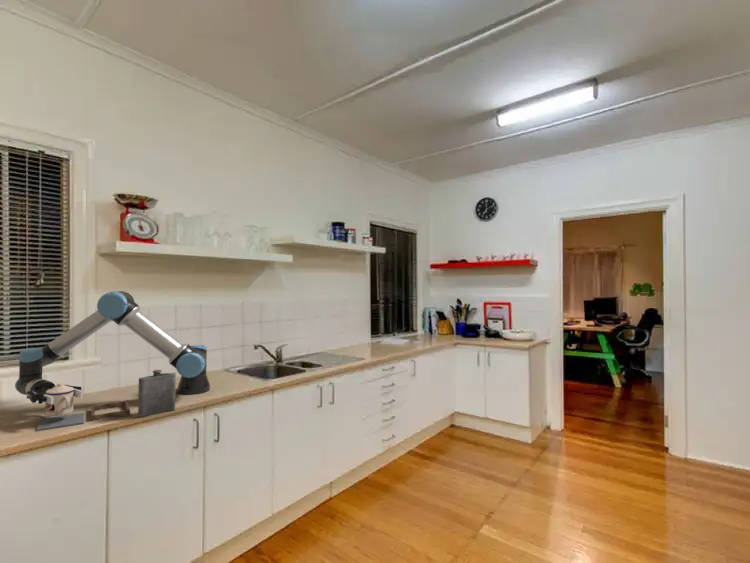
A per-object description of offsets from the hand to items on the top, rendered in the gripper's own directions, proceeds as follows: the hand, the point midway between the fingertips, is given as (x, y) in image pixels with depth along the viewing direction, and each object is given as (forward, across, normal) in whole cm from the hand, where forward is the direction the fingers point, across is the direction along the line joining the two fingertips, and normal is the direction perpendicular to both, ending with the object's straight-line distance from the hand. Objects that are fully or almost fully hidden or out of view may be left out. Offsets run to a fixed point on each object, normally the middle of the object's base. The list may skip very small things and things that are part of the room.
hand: (67, 397), depth 155 cm
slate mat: (-4, 0, -10) cm, 11 cm away
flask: (+16, -26, -10) cm, 32 cm away
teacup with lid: (-5, 0, -7) cm, 9 cm away
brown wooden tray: (0, -16, -10) cm, 19 cm away
